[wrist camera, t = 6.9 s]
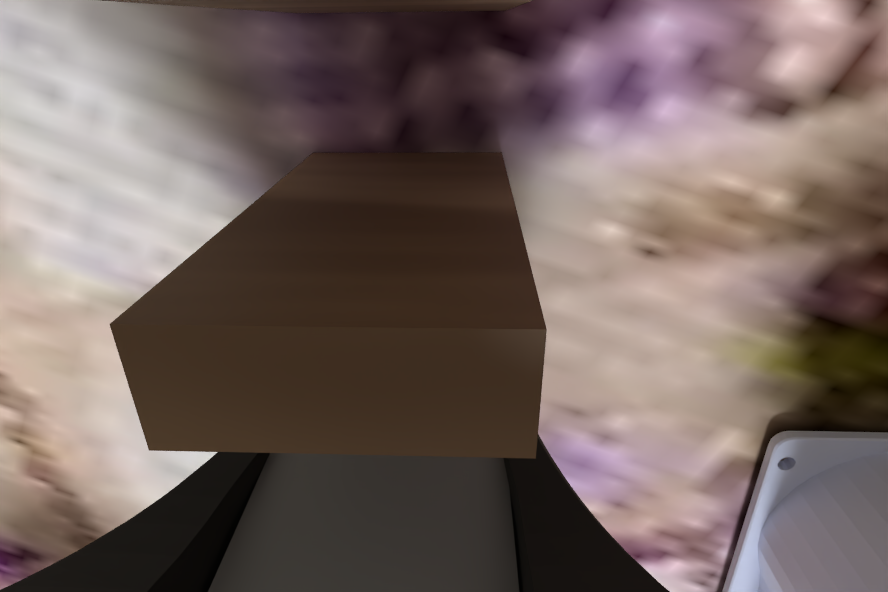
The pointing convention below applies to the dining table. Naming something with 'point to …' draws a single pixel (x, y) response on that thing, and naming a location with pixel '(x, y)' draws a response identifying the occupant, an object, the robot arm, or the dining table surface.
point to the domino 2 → (374, 526)
